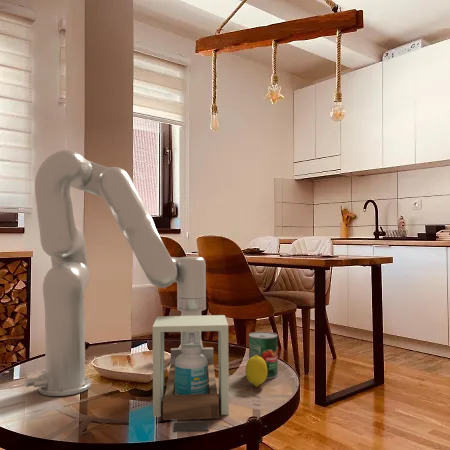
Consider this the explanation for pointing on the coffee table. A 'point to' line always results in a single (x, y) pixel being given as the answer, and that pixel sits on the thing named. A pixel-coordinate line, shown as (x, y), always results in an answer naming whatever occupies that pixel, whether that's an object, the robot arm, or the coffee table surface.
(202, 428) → the mat
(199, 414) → the wooden compartment tray
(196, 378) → the pill bottle
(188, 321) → the tunnel
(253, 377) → the lemon
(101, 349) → the coffee table surface
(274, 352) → the canned tomato
